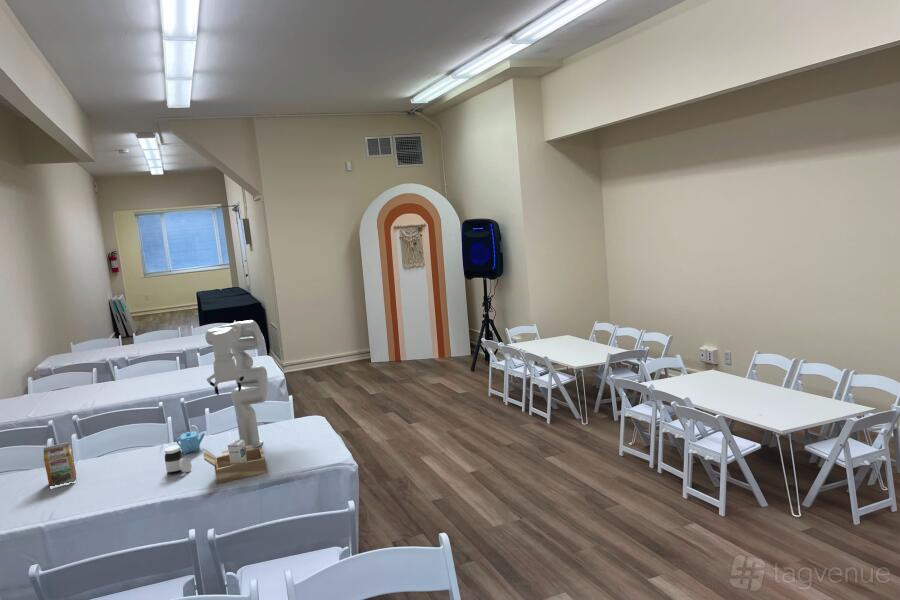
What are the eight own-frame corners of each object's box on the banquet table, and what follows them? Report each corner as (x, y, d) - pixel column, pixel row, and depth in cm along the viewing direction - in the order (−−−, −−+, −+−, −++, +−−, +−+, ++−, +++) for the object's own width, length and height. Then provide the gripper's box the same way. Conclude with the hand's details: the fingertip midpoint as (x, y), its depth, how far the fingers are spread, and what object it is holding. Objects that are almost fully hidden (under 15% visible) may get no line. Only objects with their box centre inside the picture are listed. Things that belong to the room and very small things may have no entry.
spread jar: (169, 468, 316) (165, 445, 314) (193, 464, 318) (190, 441, 316) (165, 478, 304) (161, 455, 302) (190, 473, 307) (186, 450, 305)
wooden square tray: (215, 467, 312) (213, 453, 311) (262, 456, 320) (260, 443, 319) (217, 484, 292) (214, 469, 291) (267, 472, 300) (265, 458, 299)
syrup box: (243, 473, 300) (239, 444, 298) (231, 473, 301) (227, 444, 299) (249, 468, 306) (244, 439, 303) (237, 468, 307) (233, 439, 304)
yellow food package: (50, 489, 303) (42, 451, 300) (51, 481, 313) (44, 444, 309) (75, 483, 308) (68, 445, 305) (76, 475, 317) (69, 438, 314)
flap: (215, 456, 305) (214, 457, 305) (204, 448, 302) (203, 449, 302) (216, 466, 292) (216, 467, 292) (204, 458, 290) (203, 459, 290)
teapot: (178, 447, 342) (175, 429, 341) (206, 441, 347) (203, 424, 346) (177, 459, 326) (174, 440, 324) (207, 453, 331) (204, 434, 329)
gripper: (242, 352, 309) (247, 387, 312) (203, 359, 303) (209, 394, 306) (243, 356, 302) (248, 391, 305) (203, 362, 296) (209, 398, 299)
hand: (228, 392), depth 306 cm, fingers open, 9 cm apart
